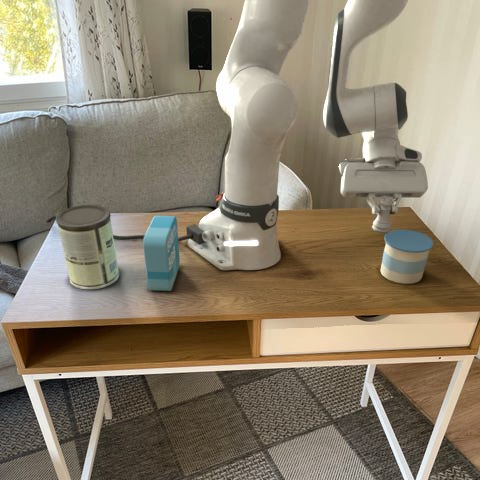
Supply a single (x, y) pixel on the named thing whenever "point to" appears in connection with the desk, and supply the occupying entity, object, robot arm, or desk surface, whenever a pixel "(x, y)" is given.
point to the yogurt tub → (405, 256)
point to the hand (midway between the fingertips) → (385, 213)
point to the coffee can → (88, 246)
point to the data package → (161, 253)
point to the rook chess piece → (383, 216)
